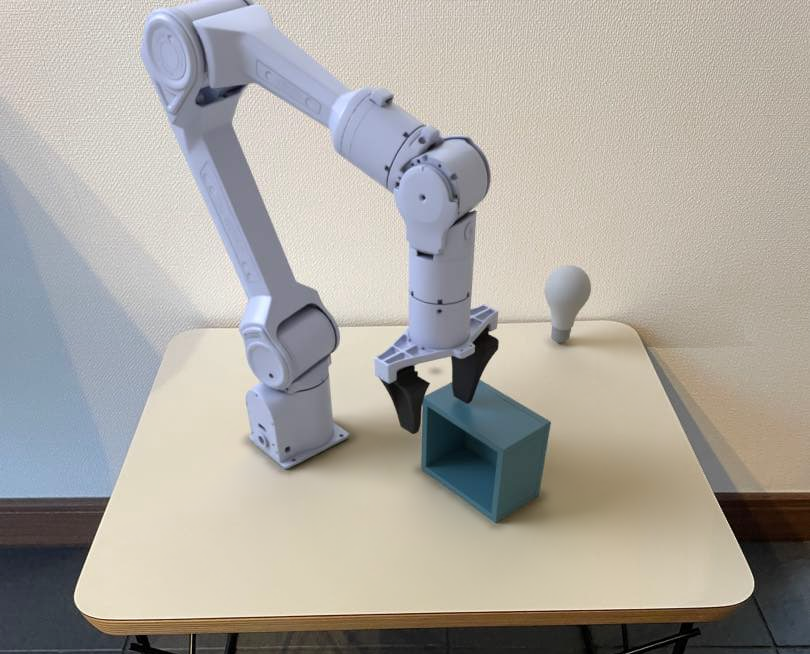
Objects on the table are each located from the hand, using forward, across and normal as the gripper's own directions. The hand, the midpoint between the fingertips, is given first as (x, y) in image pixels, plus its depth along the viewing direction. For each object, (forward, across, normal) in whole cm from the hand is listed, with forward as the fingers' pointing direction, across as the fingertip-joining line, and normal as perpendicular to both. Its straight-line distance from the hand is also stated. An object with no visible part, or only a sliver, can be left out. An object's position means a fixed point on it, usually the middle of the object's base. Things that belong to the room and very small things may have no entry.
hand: (436, 413), depth 79 cm
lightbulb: (+11, +35, +11) cm, 38 cm away
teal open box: (+10, +5, -2) cm, 12 cm away
